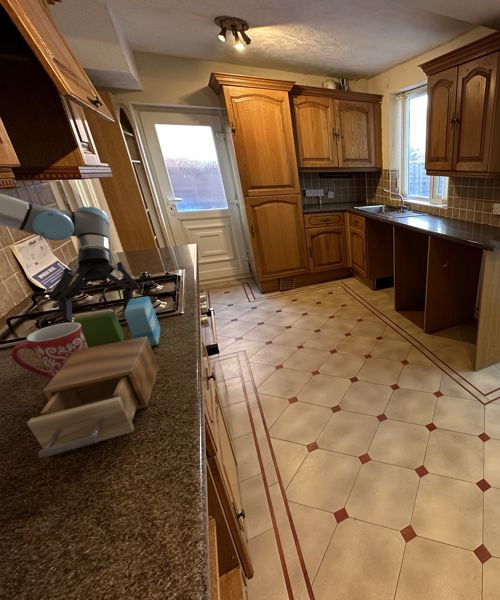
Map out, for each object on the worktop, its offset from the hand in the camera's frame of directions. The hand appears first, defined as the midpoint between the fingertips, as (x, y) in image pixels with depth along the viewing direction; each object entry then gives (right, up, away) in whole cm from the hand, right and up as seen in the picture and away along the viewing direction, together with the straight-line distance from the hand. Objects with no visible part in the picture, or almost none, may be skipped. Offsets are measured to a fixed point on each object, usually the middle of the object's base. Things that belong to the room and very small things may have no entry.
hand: (98, 316), depth 93 cm
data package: (+13, -7, +3) cm, 15 cm away
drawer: (+28, -21, -30) cm, 46 cm away
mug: (+7, -15, -15) cm, 22 cm away
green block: (+1, -8, +2) cm, 8 cm away
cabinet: (+23, -17, -20) cm, 35 cm away
